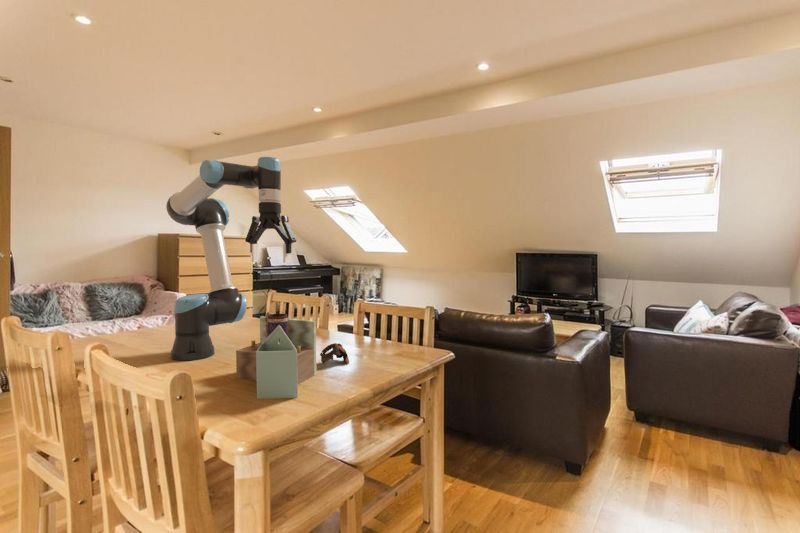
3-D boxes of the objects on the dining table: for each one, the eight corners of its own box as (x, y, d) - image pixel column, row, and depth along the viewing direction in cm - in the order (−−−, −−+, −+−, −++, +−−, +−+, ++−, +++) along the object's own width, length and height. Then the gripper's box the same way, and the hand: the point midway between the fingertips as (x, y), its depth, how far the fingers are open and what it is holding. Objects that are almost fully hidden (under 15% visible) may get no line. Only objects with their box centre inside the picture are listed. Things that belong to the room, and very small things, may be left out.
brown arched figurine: (349, 368, 148) (337, 350, 145) (326, 378, 149) (314, 360, 147) (353, 351, 159) (343, 333, 157) (332, 360, 161) (321, 343, 158)
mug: (293, 350, 135) (293, 314, 134) (272, 354, 130) (272, 316, 129) (278, 345, 142) (278, 310, 141) (258, 348, 137) (257, 312, 136)
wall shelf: (236, 377, 135) (235, 323, 134) (263, 366, 147) (262, 316, 146) (293, 386, 127) (292, 328, 126) (316, 374, 139) (315, 321, 138)
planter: (241, 392, 123) (239, 325, 121) (264, 385, 129) (263, 321, 128) (274, 405, 113) (273, 333, 111) (298, 397, 119) (297, 328, 118)
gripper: (234, 202, 148) (235, 262, 149) (292, 200, 139) (293, 263, 140) (249, 204, 155) (250, 261, 156) (306, 202, 146) (306, 262, 147)
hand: (270, 262), depth 148 cm, fingers open, 13 cm apart
